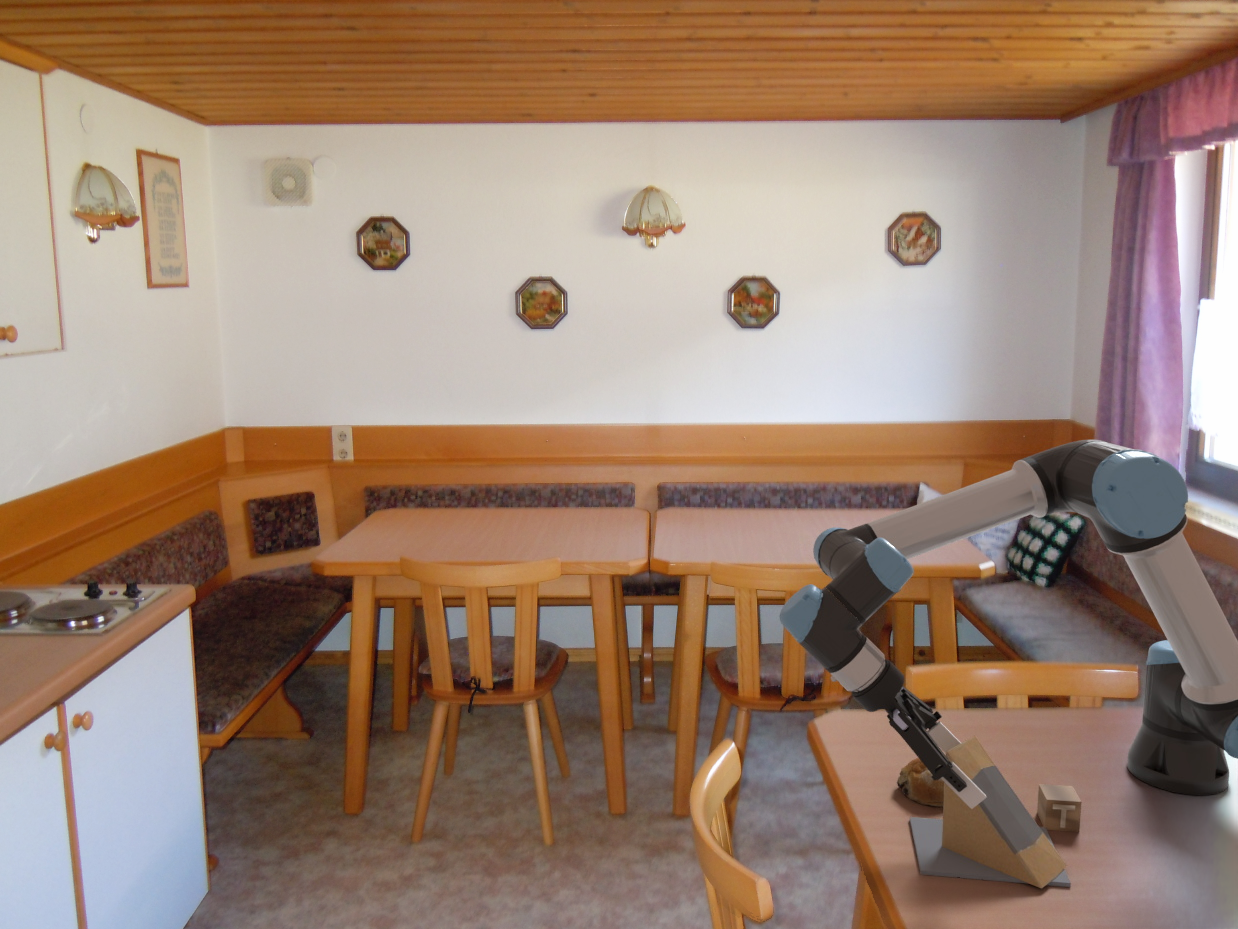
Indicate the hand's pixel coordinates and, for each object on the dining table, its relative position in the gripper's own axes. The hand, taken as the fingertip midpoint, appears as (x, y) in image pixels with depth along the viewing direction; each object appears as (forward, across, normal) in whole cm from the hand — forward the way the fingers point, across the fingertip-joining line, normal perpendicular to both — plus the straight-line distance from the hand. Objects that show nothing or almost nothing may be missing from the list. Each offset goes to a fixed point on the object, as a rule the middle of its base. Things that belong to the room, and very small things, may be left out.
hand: (970, 779), depth 150 cm
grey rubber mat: (+10, 0, -6) cm, 12 cm away
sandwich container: (+11, +2, -4) cm, 12 cm away
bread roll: (+6, -17, -11) cm, 21 cm away
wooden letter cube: (+19, -11, +2) cm, 22 cm away
